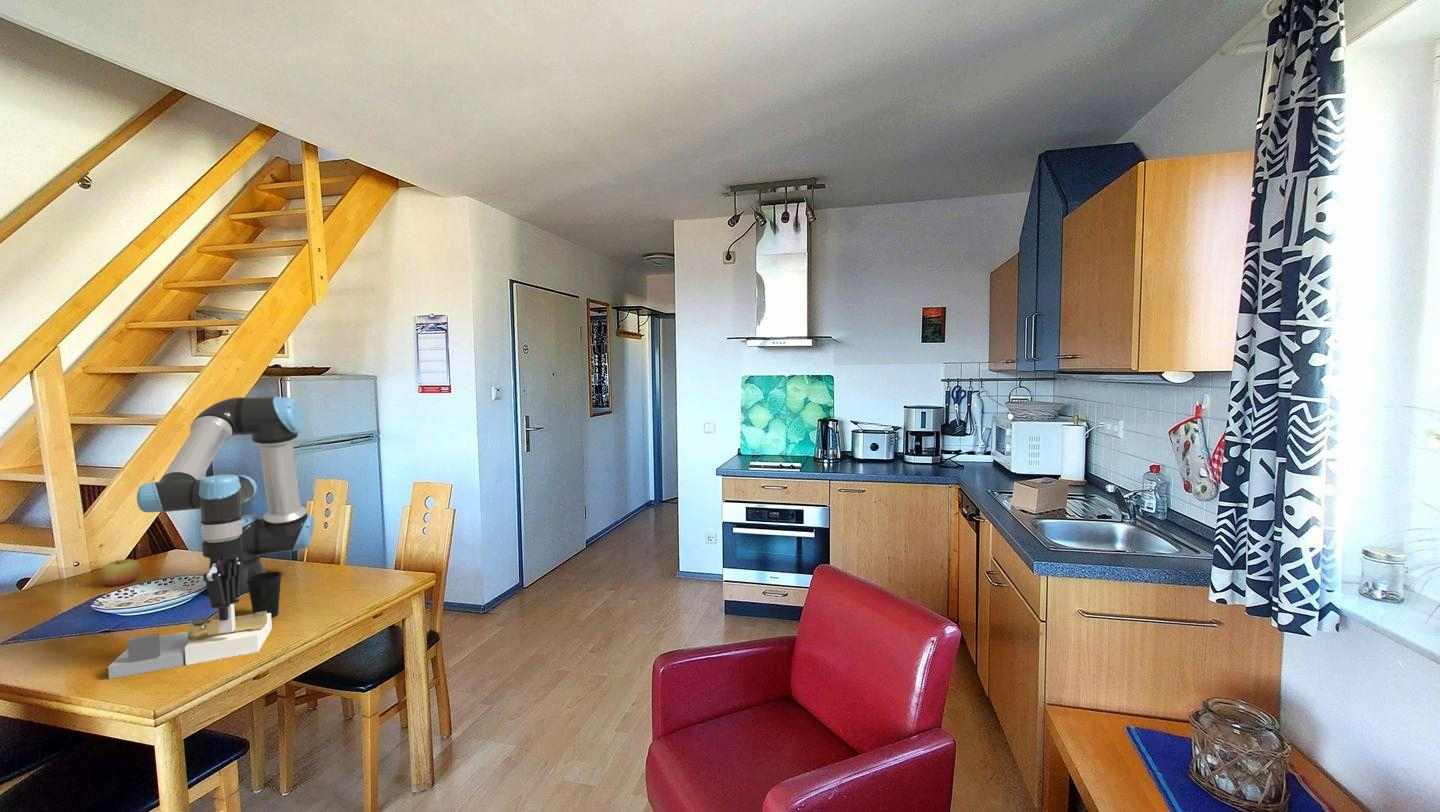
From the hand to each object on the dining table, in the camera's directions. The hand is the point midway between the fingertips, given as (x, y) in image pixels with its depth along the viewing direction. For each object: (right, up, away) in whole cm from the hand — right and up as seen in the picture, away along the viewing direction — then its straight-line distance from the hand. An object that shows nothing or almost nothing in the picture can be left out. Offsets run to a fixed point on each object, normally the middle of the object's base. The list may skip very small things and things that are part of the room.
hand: (227, 630), depth 142 cm
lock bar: (-3, -1, +4) cm, 5 cm away
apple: (-79, -4, +49) cm, 93 cm away
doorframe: (-10, -7, +3) cm, 13 cm away
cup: (-9, -5, +24) cm, 26 cm away
